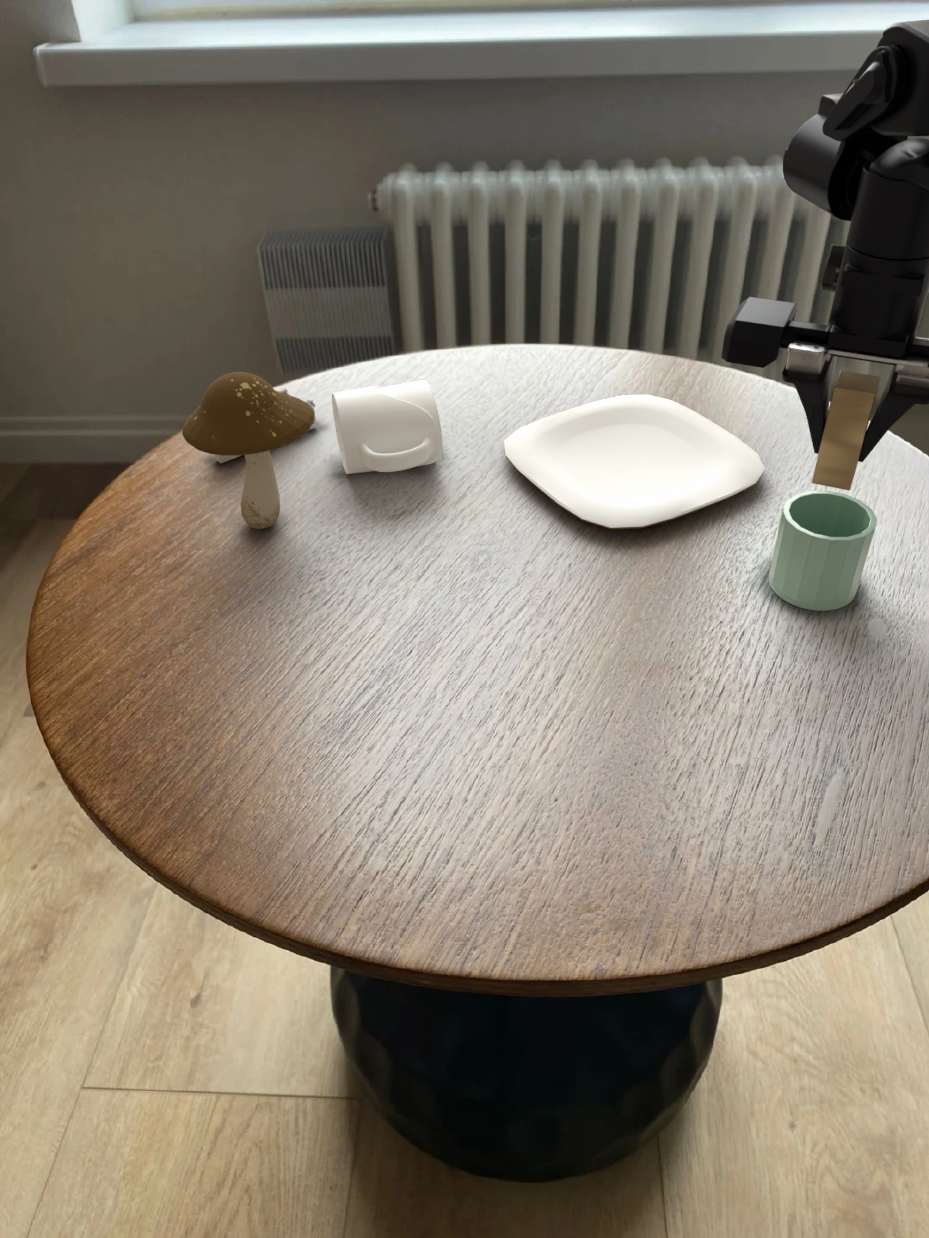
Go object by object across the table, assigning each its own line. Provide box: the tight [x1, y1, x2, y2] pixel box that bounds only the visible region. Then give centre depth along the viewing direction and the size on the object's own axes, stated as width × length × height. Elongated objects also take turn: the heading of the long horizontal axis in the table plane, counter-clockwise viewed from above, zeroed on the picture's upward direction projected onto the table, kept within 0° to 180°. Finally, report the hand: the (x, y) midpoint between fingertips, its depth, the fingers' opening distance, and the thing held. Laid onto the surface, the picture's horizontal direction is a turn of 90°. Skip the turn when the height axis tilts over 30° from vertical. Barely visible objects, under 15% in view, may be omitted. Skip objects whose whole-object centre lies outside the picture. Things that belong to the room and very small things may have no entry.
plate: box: [503, 393, 766, 530], centre depth 95 cm, size 22×22×2 cm
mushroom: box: [181, 371, 316, 530], centre depth 86 cm, size 9×11×15 cm
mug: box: [331, 379, 444, 475], centre depth 95 cm, size 12×9×8 cm
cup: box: [768, 490, 878, 612], centre depth 78 cm, size 7×7×7 cm
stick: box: [811, 370, 881, 491], centre depth 71 cm, size 3×3×8 cm
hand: (839, 455), depth 72 cm, fingers closed on stick, 3 cm apart
